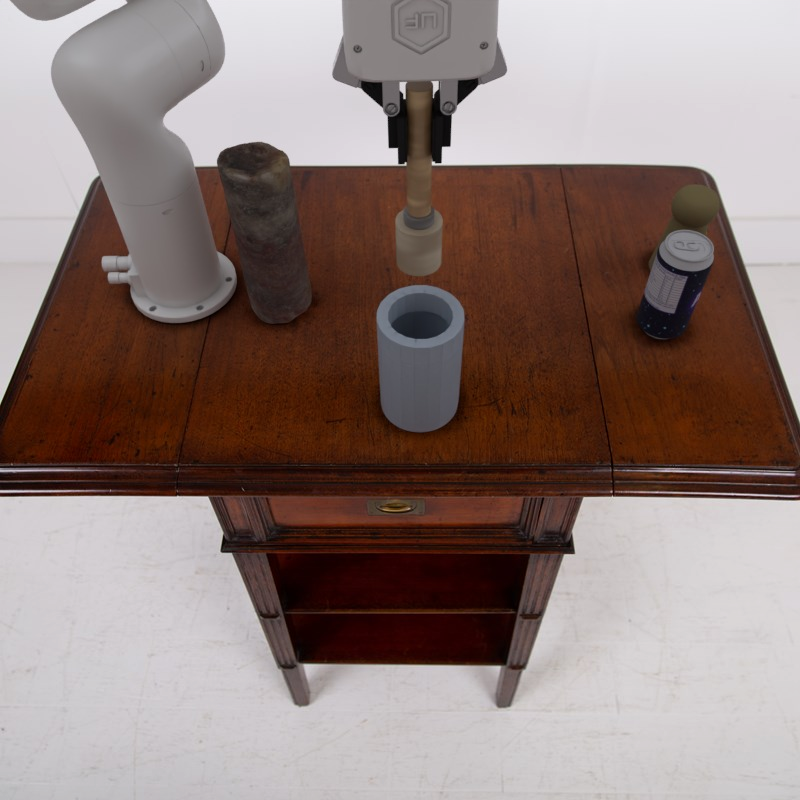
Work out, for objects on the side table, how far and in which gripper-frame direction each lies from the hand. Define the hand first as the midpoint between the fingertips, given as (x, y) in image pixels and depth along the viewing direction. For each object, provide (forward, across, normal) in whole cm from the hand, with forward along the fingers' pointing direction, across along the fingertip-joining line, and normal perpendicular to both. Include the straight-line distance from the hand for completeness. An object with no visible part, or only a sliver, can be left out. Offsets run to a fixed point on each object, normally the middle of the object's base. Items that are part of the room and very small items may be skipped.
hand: (419, 152), depth 58 cm
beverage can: (+30, +28, +9) cm, 42 cm away
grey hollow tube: (+30, 0, -1) cm, 30 cm away
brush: (+11, 0, 0) cm, 11 cm away
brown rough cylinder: (+30, -16, +14) cm, 36 cm away
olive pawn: (+30, +32, +19) cm, 48 cm away
